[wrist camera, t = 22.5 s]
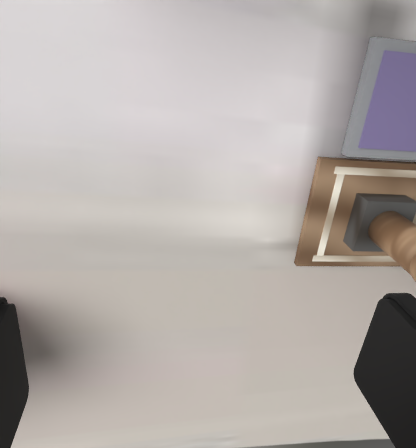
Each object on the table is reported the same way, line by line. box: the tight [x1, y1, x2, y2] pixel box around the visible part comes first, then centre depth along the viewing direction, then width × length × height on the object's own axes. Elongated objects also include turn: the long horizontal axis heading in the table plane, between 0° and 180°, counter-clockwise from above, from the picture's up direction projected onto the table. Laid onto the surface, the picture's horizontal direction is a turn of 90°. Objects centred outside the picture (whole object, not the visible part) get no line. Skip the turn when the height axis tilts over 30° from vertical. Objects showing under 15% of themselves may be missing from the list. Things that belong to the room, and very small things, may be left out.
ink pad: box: [341, 37, 416, 160], centre depth 36 cm, size 11×11×2 cm
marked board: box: [294, 157, 416, 266], centre depth 42 cm, size 13×16×1 cm
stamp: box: [343, 193, 416, 281], centre depth 36 cm, size 6×6×13 cm
